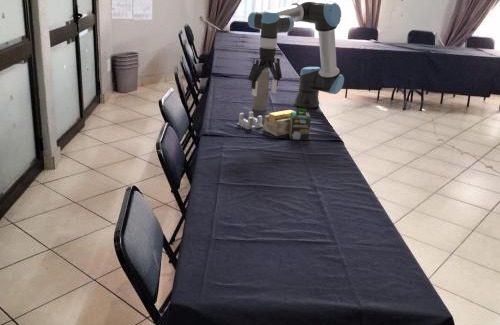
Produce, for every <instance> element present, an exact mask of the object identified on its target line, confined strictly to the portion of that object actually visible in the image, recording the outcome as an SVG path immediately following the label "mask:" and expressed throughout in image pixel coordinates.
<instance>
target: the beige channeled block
mask: <svg viewBox="0 0 500 325" xmlns="http://www.w3.org/2000/svg"><path fill="white" fill-rule="evenodd" d="M289 128H290V118H284V119H279V120H275V123H274V124H272V123H270V122H269V114H268V115H264V120H263V131H265V132H267V133H270V134H272V136H273V135H274V136H275V137H278V136H282V135H289Z"/></svg>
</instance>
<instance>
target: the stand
mask: <svg viewBox="0 0 500 325" xmlns="http://www.w3.org/2000/svg"><path fill="white" fill-rule="evenodd" d="M238 115H239V117H238V122H237V123H236V125H237V124H238V125H240V126H241V128H242V127H243V128H242V129H244V128H245V129H244V130H246V129H247V130H246V131H250V130H249V129H251V130H255V129H260V128H264V124H263V116H262V115H257V117H255V116H254V112H253V111H248V117H247V119H246V118H245V113H244V112H240V113H239V114H238ZM238 125H237V126H238ZM240 126H239V127H240Z"/></svg>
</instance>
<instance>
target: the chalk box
mask: <svg viewBox="0 0 500 325" xmlns="http://www.w3.org/2000/svg"><path fill="white" fill-rule="evenodd" d="M307 109H308V108H297V109H296V111H294V112H291V116H290V128H289V133H288V135H289V140H297V141H298V140H299V141H309V139H310V132H311V131H310V130H311V122H312V118H311V115H310V112H307V111H308V110H307Z"/></svg>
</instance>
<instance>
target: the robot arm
mask: <svg viewBox="0 0 500 325" xmlns="http://www.w3.org/2000/svg"><path fill="white" fill-rule="evenodd" d="M341 18H342V9H341V7H340V5H339V4H338V2H337V3H336V2H334V1H326V0H325V1H324V0H303V1H297V2H294V3H292V4H290V5H288V6H285V7H280V8H276V9H271V10H265V11H262V12H261V11H260V12H258V11H252V12H250V13H249V15H248V17H247V24H248V27H249V28H252V29H255V30H260V40H259V46H260V47H259V50H258V55H259V58H258V59H257V58H253V64H252V66H251V70H250V73H249V75H248V78H247V79H248V81H251V86H250V87H251V96H253V97H254V96H257V85H258V82H256V81H257V79H258V78H259V76H260V74H261V72H262V71H263V70H264V69H265V68H269V71H270V74H271V75H272V77H273V78H272V81H271V93H272V94H277V88H278V85H279V81H280V80H281V79H282V77H283V75H282V69H281V65H280V60H281V59H280V58H279V57H276V56H277V55H276V53H277V49H276V47H277V42H278V41H277V40H278V34H283V33H284V34H285V33H289V32H291V31H292V30H293V29H294V26H295V23H298V22H304V23H309V24H314V27H315V30H316V32H318V43H319V44H318V45H319V55H320V66H306V67H302V68H301V70H300V75H299V83H298V92H297V94H296V97H295V99H294V105H295V106H296V107H298V108H302V109H315V107H317V106H318V107H320V100H319V94H318V92H322V93H327V94H332V95H336V94H338V93H339V92H340V91H341V90H342V89H343V86H344V82H345V77H344V75H343V74H340V73H341V72H340V68H338V67H337V66H338V65H337V53H336V52H337V50H336V49H337V48H336V34H335V33H336V32H335V30H336V29H337V28H338V26H339V24H341ZM258 65H259V66H258ZM261 66H262V67H261ZM257 68H258V69H257ZM318 107H317V108H318Z"/></svg>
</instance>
